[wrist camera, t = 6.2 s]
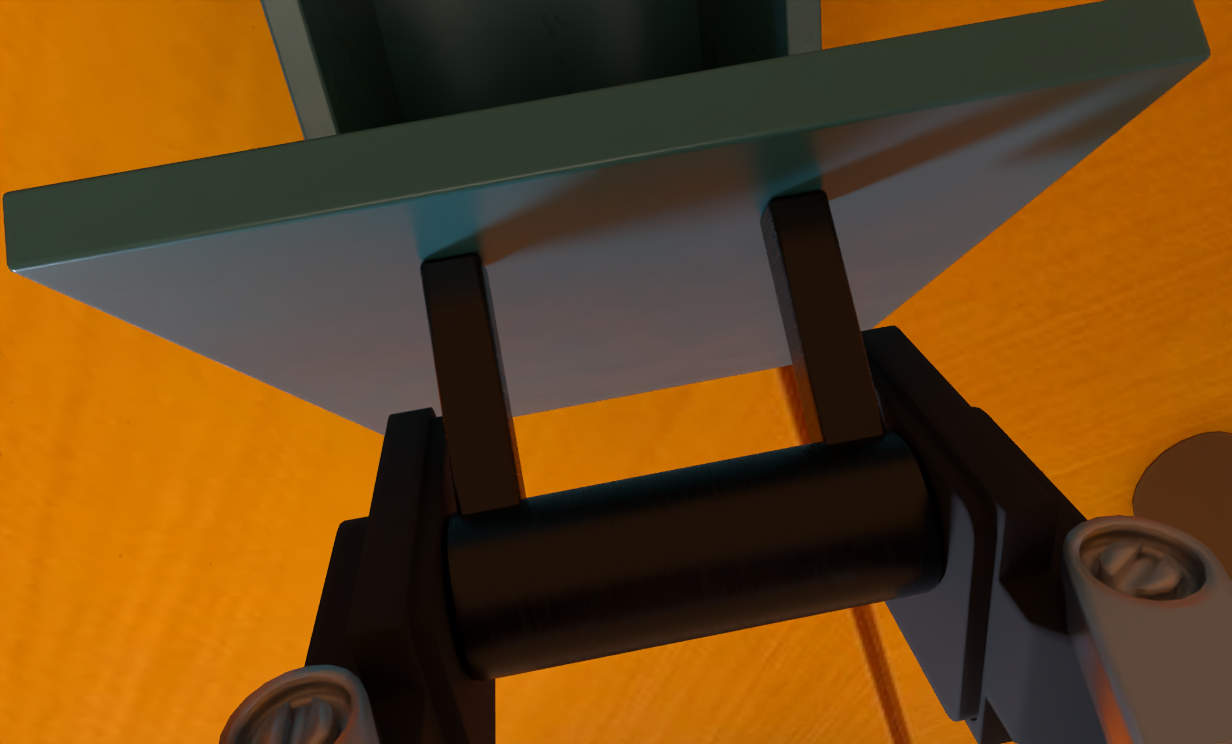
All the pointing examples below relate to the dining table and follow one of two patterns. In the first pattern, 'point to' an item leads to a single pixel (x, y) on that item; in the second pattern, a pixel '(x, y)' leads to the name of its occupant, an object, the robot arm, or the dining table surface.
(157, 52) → the dining table surface
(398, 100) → the teal box
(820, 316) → the box lid
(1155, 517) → the cork
